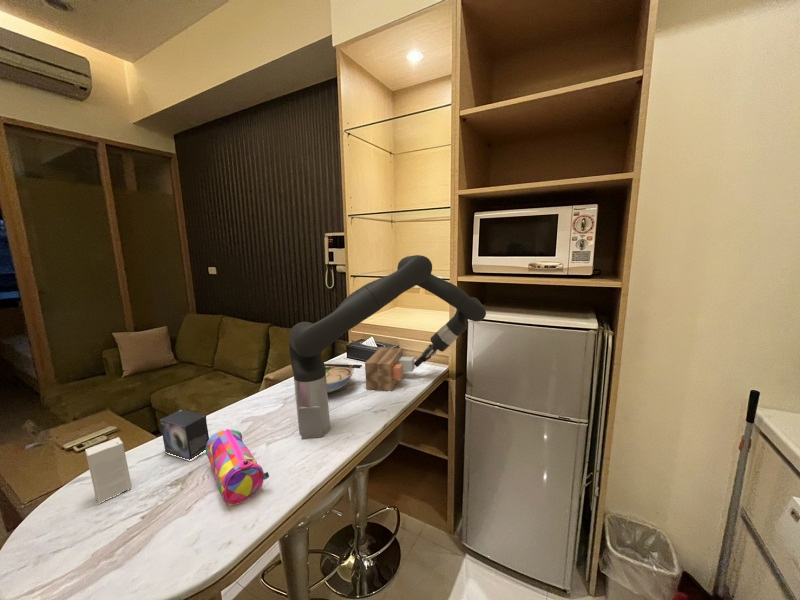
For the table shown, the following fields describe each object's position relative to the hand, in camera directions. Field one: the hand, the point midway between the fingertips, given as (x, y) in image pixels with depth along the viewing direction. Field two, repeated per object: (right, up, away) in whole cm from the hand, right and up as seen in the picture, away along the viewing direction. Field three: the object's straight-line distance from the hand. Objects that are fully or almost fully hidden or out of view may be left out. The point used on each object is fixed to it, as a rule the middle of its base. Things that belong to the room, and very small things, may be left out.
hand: (415, 364), depth 132 cm
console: (-12, -7, 0) cm, 14 cm away
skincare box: (-73, -18, -58) cm, 95 cm away
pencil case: (-46, -17, -55) cm, 74 cm away
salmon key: (-9, -4, -6) cm, 12 cm away
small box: (-66, -16, -44) cm, 81 cm away
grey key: (-4, -2, +2) cm, 5 cm away
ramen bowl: (-36, -9, -7) cm, 37 cm away
